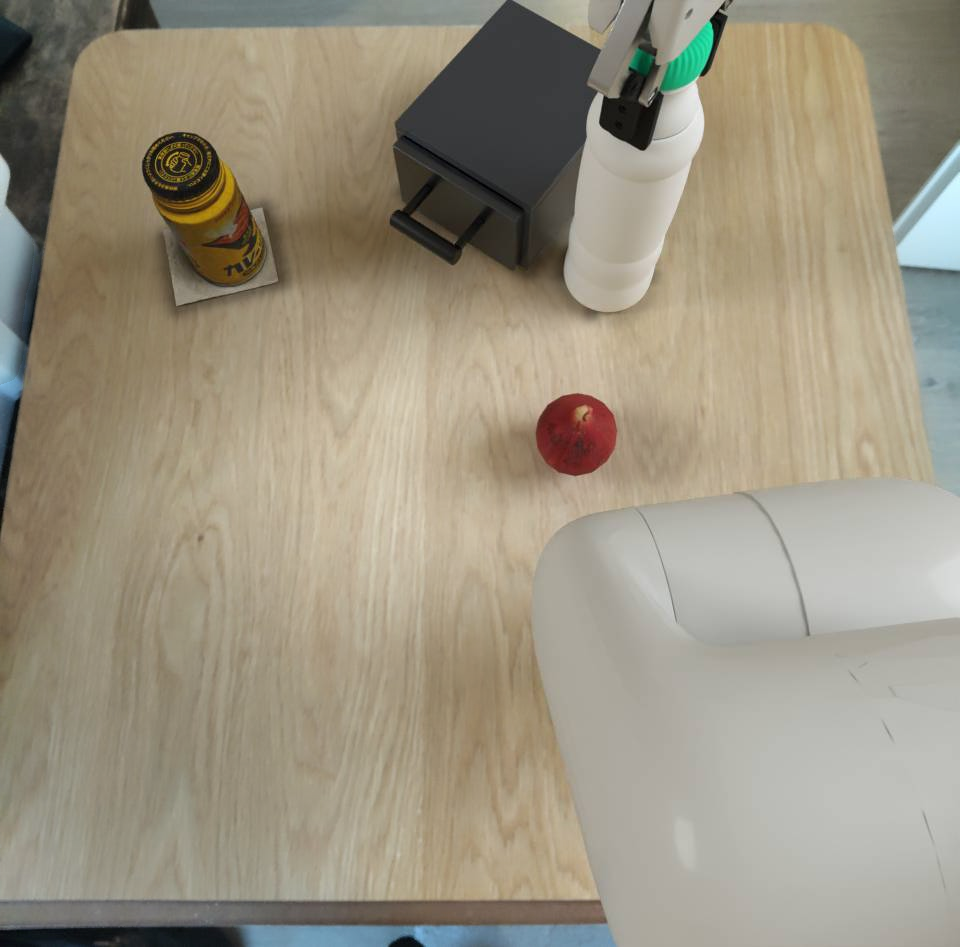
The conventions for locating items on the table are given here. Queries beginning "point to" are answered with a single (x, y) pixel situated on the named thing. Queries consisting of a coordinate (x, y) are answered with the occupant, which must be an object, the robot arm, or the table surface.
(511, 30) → the cabinet
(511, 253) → the drawer
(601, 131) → the water bottle
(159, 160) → the condiment
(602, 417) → the onion
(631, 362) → the table surface
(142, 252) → the table surface
